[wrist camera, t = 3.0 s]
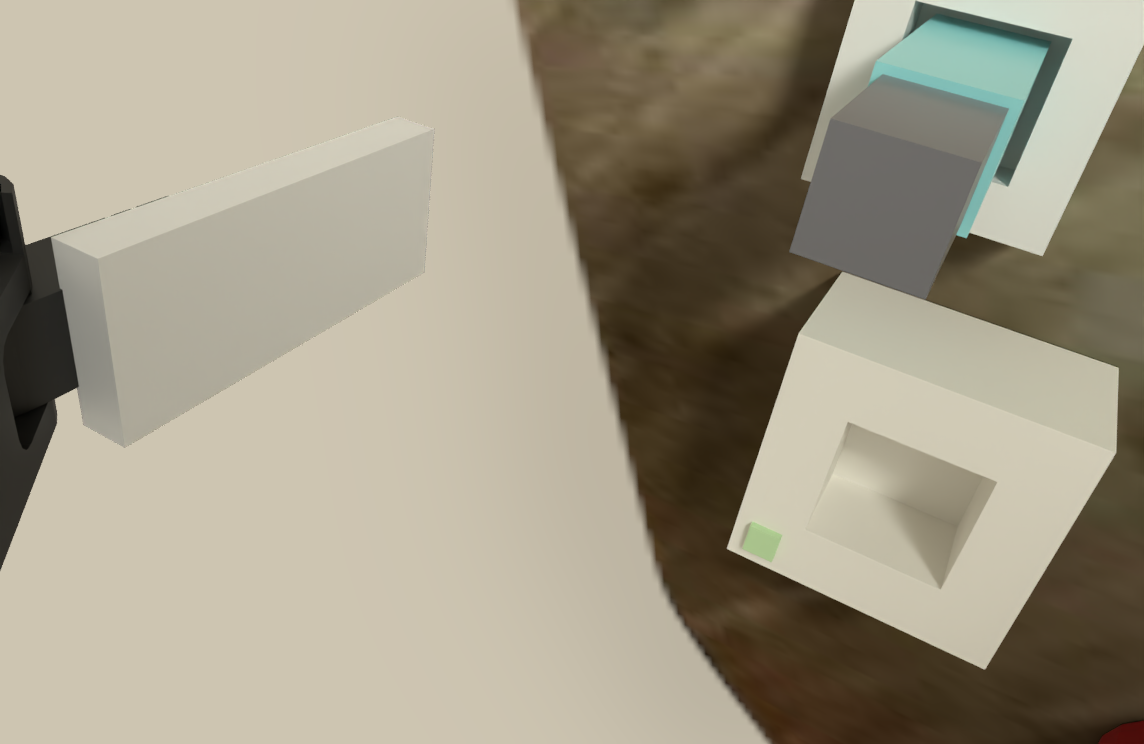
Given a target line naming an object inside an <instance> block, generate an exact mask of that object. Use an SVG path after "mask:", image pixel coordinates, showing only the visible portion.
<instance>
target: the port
mask: <svg viewBox="0 0 1144 744" xmlns="http://www.w3.org/2000/svg"><path fill="white" fill-rule="evenodd" d="M1118 374H1119V368H1118V367H1115V366H1112V365H1109V364H1106V363H1103V362H1100V361H1098V360H1095V359H1092V358H1089V357H1086V356H1083V355H1080V354H1078V353H1075V352H1072V351H1069V350H1066V349H1063V348H1060V347H1057V346H1055V345H1052V344H1049V343H1046V342H1043V341H1040V340H1037V339H1034V338H1032V337H1029V336H1026V335H1023V334H1020V333H1017V332H1014V331H1011V330H1009V329H1006V328H1003V327H1000V326H997V325H994V324H991V323H988V322H986V321H983V320H980V319H977V318H974V317H971V316H968V315H966V314H963V313H960V312H957V311H954V310H951V309H948V308H945V307H943V306H940V305H937V304H934V303H931V302H928V301H925V300H922V299H920V298H917V297H914V296H911V295H908V294H905V293H902V292H899V291H897V290H894V289H891V288H888V287H885V286H882V285H879V284H877V283H874V282H871V281H868V280H865V279H862V278H859V277H856V276H854V275H851V274H848V273H845V272H842V273H841V274H840V276H839V277H838V278H837V280H836V281H835V283H834V284H833V285H832V287H831V288H830V290H829V291H828V293H827V294H826V295H825V297H824V298H823V300H822V301H821V302H820V304H819V305H818V307H817V308H816V309H815V311H814V312H813V314H812V315H811V317H810V318H809V319H808V321H807V322H806V324H805V325H804V326H803V328H802V329H801V331H800V332H799V334H798V337H797V340H796V343H795V346H794V349H793V352H792V355H791V358H790V361H789V364H788V367H787V370H786V373H785V376H784V379H783V382H782V385H781V388H780V391H779V394H778V397H777V400H776V403H775V406H774V409H773V412H772V415H771V418H770V421H769V424H768V427H767V430H766V433H765V436H764V439H763V442H762V445H761V448H760V451H759V454H758V457H757V460H756V463H755V466H754V469H753V472H752V475H751V478H750V481H749V484H748V487H747V490H746V493H745V496H744V499H743V502H742V505H741V508H740V511H739V514H738V517H737V520H736V523H735V526H734V529H733V532H732V535H731V538H730V541H729V544H728V547H727V549H728V550H730V551H733V552H735V553H737V554H739V555H741V556H743V557H745V558H747V559H750V560H752V561H754V562H756V563H758V564H760V565H762V566H765V567H767V568H769V569H771V570H773V571H775V572H777V573H779V574H782V575H784V576H786V577H788V578H790V579H792V580H794V581H797V582H799V583H801V584H803V585H805V586H807V587H809V588H812V589H814V590H816V591H818V592H820V593H822V594H824V595H826V596H829V597H831V598H833V599H835V600H837V601H839V602H841V603H844V604H846V605H848V606H850V607H852V608H854V609H856V610H858V611H861V612H863V613H865V614H867V615H869V616H871V617H873V618H876V619H878V620H880V621H882V622H884V623H886V624H888V625H890V626H893V627H895V628H897V629H899V630H901V631H903V632H905V633H908V634H910V635H912V636H914V637H916V638H918V639H920V640H923V641H925V642H927V643H929V644H931V645H933V646H935V647H937V648H940V649H942V650H944V651H946V652H948V653H950V654H952V655H955V656H957V657H959V658H961V659H963V660H965V661H967V662H969V663H972V664H974V665H976V666H978V667H980V668H982V669H984V670H985V669H986V667H987V665H988V664H989V662H990V660H991V659H992V657H993V656H994V654H995V652H996V651H997V649H998V647H999V646H1000V644H1001V642H1002V641H1003V639H1004V637H1005V636H1006V634H1007V632H1008V631H1009V629H1010V627H1011V626H1012V624H1013V622H1014V621H1015V619H1016V618H1017V616H1018V614H1019V613H1020V611H1021V609H1022V608H1023V606H1024V604H1025V603H1026V601H1027V599H1028V598H1029V596H1030V594H1031V593H1032V591H1033V589H1034V588H1035V586H1036V585H1037V583H1038V581H1039V580H1040V578H1041V576H1042V575H1043V573H1044V571H1045V570H1046V568H1047V566H1048V565H1049V563H1050V561H1051V560H1052V558H1053V556H1054V555H1055V553H1056V551H1057V550H1058V548H1059V547H1060V545H1061V543H1062V542H1063V540H1064V538H1065V537H1066V535H1067V533H1068V532H1069V530H1070V528H1071V527H1072V525H1073V523H1074V522H1075V520H1076V518H1077V517H1078V515H1079V514H1080V512H1081V510H1082V509H1083V507H1084V505H1085V504H1086V502H1087V500H1088V499H1089V497H1090V495H1091V494H1092V492H1093V490H1094V489H1095V487H1096V485H1097V484H1098V482H1099V480H1100V479H1101V477H1102V476H1103V474H1104V472H1105V471H1106V469H1107V467H1108V466H1109V464H1110V462H1111V461H1112V459H1113V457H1114V456H1115V454H1116V443H1117V408H1118Z"/></svg>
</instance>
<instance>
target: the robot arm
mask: <svg viewBox="0 0 1144 744" xmlns="http://www.w3.org/2000/svg"><path fill="white" fill-rule="evenodd" d="M433 143H434V129H433V128H430V127H427V126H425V125H422V124H419V123H416V122H413V121H410V120H407V119H404V118H401V117H398V116H397V117H395V118H391V119H389V120H386V121H383V122H380V123H377V124H375V125H371V126H369V127H366V128H363V129H360V130H357V131H354V132H351V133H348V134H346V135H343V136H340V137H337V138H334V139H331V140H328V141H326V142H323V143H320V144H317V145H314V146H311V147H308V148H305V149H303V150H300V151H297V152H294V153H291V154H288V155H285V156H283V157H280V158H277V159H274V160H271V161H268V162H265V163H262V164H260V165H257V166H254V167H251V168H248V169H245V170H243V171H240V172H237V173H234V174H231V175H228V176H225V177H222V178H219V179H216V180H214V181H211V182H208V183H205V184H202V185H199V186H196V187H194V188H191V189H188V190H185V191H182V192H179V193H176V194H173V195H171V196H166V197H163V198H160V199H157V200H155V201H152V202H149V203H146V204H143V205H140V206H137V207H136V208H133V209H129V210H126V211H123V212H120V213H117V214H114V215H112V216H110V217H107V218H103V219H100V220H97V221H94V222H91V223H89V224H85V225H83V226H80V227H77V228H74V229H71V230H68V231H65V232H62V233H60V234H57V235H54V236H51V237H48V238H45V239H42V240H39V241H37V242H34V243H31V244H28V245H25V243H24V238H23V232H22V227H21V222H20V217H19V211H18V207H17V201H16V196H15V191H14V185H13V184H12V183H11V182H10V181H9V180H8V179H7V178H6V177H5V176H2V175H0V569H1V567H2V565H3V562H4V559H5V557H6V554H7V552H8V549H9V547H10V544H11V541H12V539H13V536H14V533H15V531H16V528H17V526H18V523H19V521H20V518H21V515H22V513H23V510H24V508H25V505H26V502H27V500H28V497H29V495H30V492H31V489H32V487H33V484H34V482H35V479H36V476H37V474H38V471H39V469H40V466H41V463H42V460H43V458H44V456H45V453H46V450H47V448H48V445H49V443H50V440H51V437H52V435H53V432H54V430H55V427H56V424H57V410H56V405H55V400H54V399H55V398H57V397H59V396H61V395H63V394H65V393H67V392H69V391H71V390H73V389H75V388H77V390H78V396H79V402H80V408H81V413H82V419H83V425H84V426H86V427H88V428H90V429H92V430H93V431H95V432H97V433H99V434H101V435H103V436H105V437H106V438H108V439H110V440H112V441H114V442H115V443H117V444H119V445H121V446H123V447H124V448H125V447H127V446H129V445H131V444H132V443H134V442H135V441H137V440H139V439H141V438H143V437H144V436H146V435H148V434H149V433H151V432H153V431H154V430H156V429H158V428H160V427H161V426H163V425H164V424H166V423H168V422H170V421H171V420H173V419H175V418H177V417H178V416H180V415H182V414H184V413H185V412H187V411H189V410H190V409H192V408H194V407H195V406H197V405H199V404H201V403H202V402H204V401H206V400H207V399H209V398H211V397H212V396H214V395H216V394H218V393H219V392H221V391H223V390H224V389H226V388H228V387H230V386H231V385H233V384H235V383H236V382H238V381H240V380H242V379H243V378H245V377H247V376H248V375H250V374H252V373H253V372H255V371H257V370H258V369H260V368H262V367H264V366H265V365H267V364H269V363H271V362H272V361H274V360H276V359H277V358H279V357H281V356H282V355H284V354H286V353H288V352H289V351H291V350H293V349H294V348H296V347H298V346H300V345H301V344H303V343H305V342H307V341H308V340H310V339H311V338H313V337H315V336H317V335H318V334H320V333H322V332H323V331H325V330H327V329H329V328H330V327H332V326H334V325H336V324H337V323H339V322H341V321H342V320H344V319H346V318H348V317H349V316H351V315H353V314H354V313H356V312H358V311H359V310H361V309H363V308H364V307H366V306H367V305H370V304H371V303H373V302H375V301H377V300H378V299H380V298H382V297H383V296H385V295H387V294H389V293H390V292H392V291H394V290H395V289H397V288H399V287H400V286H402V285H404V284H406V283H407V282H409V281H411V280H412V279H414V278H416V277H418V276H419V275H421V274H423V273H424V270H425V256H426V242H427V228H428V214H429V200H430V186H431V172H432V158H433Z"/></svg>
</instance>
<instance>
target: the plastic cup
mask: <svg viewBox="0 0 1144 744" xmlns="http://www.w3.org/2000/svg"><path fill="white" fill-rule="evenodd" d="M1098 744H1144V721H1140V722H1133V723H1127V724H1122V725H1120V726H1118V727H1117V728H1115V729H1113V730H1112V731H1110V732H1108V733H1106V734H1105V735H1103V736H1102V737H1101V739H1100V741H1099V743H1098Z"/></svg>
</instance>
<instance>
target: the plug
mask: <svg viewBox="0 0 1144 744" xmlns="http://www.w3.org/2000/svg"><path fill="white" fill-rule="evenodd" d="M1050 44H1051V41H1046V40H1042V39H1038V38H1034V37H1030V36H1026V35H1022V34H1018V33H1014V32H1010V31H1006V30H1002V29H998V28H994V27H990V26H986V25H982V24H977V23H973V22H969V21H965V20H961V19H957V18H953V17H949V16H945V15H941V14H936V15H935V16H933V17H932V18H931V19H929V20H928V21H927V22H925V23H924V24H923V25H922V26H920V27H919V28H918V29H916V30H915V31H914V32H913V33H911V34H910V35H909V36H907V37H906V38H905V39H904V40H902V41H901V42H900V43H898V44H897V45H896V46H895V47H893V48H892V49H891V50H889V51H888V52H887V53H886V54H884V55H883V56H882V57H880V58H879V59H878V60H877V61H876V63H875V66H874V69H873V72H872V75H871V78H870V81H869V84H868V87H867V88H866V89H864V90H863V91H862V92H861V93H860V94H859V95H857V96H856V97H855V98H854V99H853V100H852V101H850V102H849V103H848V104H847V105H846V106H844V107H843V108H842V109H841V110H840V111H839V112H837V113H836V114H835V115H834V116H833V117H832V118H831V119H830V122H829V125H828V128H827V131H826V135H825V138H824V141H823V144H822V148H821V151H820V154H819V157H818V161H817V164H816V167H815V170H814V173H813V177H812V180H811V183H810V186H809V190H808V193H807V196H806V199H805V203H804V206H803V209H802V212H801V215H800V219H799V222H798V225H797V228H796V232H795V235H794V238H793V241H792V245H791V248H790V251H789V252H790V253H793V254H796V255H799V256H802V257H805V258H808V259H811V260H813V261H816V262H819V263H822V264H825V265H828V266H831V267H834V268H836V269H839V270H842V271H845V272H848V273H851V274H854V275H857V276H859V277H862V278H865V279H868V280H871V281H874V282H877V283H880V284H882V285H885V286H888V287H891V288H894V289H897V290H900V291H903V292H905V293H908V294H911V295H914V296H917V297H920V298H923V299H926V298H927V296H928V293H929V291H930V289H931V287H932V285H933V283H934V281H935V279H936V277H937V274H938V272H939V270H940V268H941V266H942V264H943V262H944V260H945V258H946V255H947V253H948V251H949V249H950V247H951V245H952V243H953V241H954V239H955V236H956V235H957V236H961V237H964V238H967V236H968V234H969V232H970V230H971V227H972V225H973V223H974V221H975V218H976V216H977V214H978V212H979V209H980V207H981V205H982V202H983V200H984V198H985V196H986V193H987V191H988V189H989V187H990V184H991V182H992V180H993V178H994V175H995V173H996V171H997V169H998V166H999V164H1000V162H1001V159H1002V157H1003V155H1004V153H1005V150H1006V148H1007V146H1008V143H1009V141H1010V139H1011V136H1012V134H1013V131H1014V129H1015V127H1016V124H1017V122H1018V120H1019V117H1020V115H1021V113H1022V110H1023V108H1024V106H1025V103H1026V101H1027V98H1028V96H1029V94H1030V91H1031V89H1032V87H1033V84H1034V82H1035V80H1036V77H1037V75H1038V72H1039V70H1040V68H1041V65H1042V63H1043V61H1044V58H1045V56H1046V54H1047V51H1048V49H1049V47H1050Z"/></svg>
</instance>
